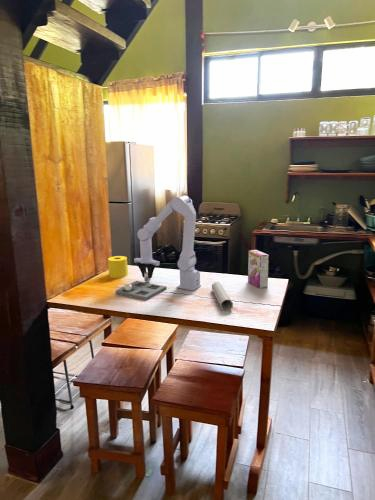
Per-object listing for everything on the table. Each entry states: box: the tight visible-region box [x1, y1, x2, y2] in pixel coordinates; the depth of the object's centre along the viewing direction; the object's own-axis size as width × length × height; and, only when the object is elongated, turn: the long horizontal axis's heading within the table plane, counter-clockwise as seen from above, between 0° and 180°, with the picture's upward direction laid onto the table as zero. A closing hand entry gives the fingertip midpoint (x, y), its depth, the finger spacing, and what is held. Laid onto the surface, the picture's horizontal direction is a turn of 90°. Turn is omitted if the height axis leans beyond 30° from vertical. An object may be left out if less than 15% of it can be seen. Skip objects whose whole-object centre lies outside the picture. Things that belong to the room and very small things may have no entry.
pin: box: [124, 283, 132, 293], centre depth 166 cm, size 3×3×4 cm
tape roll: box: [107, 255, 129, 279], centre depth 193 cm, size 10×10×9 cm
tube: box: [211, 281, 234, 312], centre depth 157 cm, size 5×5×25 cm
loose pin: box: [143, 271, 152, 282], centre depth 181 cm, size 3×3×4 cm
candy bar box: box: [247, 249, 270, 289], centre depth 174 cm, size 11×5×16 cm, turn 22°
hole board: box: [114, 280, 167, 301], centre depth 168 cm, size 18×16×2 cm
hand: (147, 277), depth 181 cm, fingers closed on loose pin, 3 cm apart
